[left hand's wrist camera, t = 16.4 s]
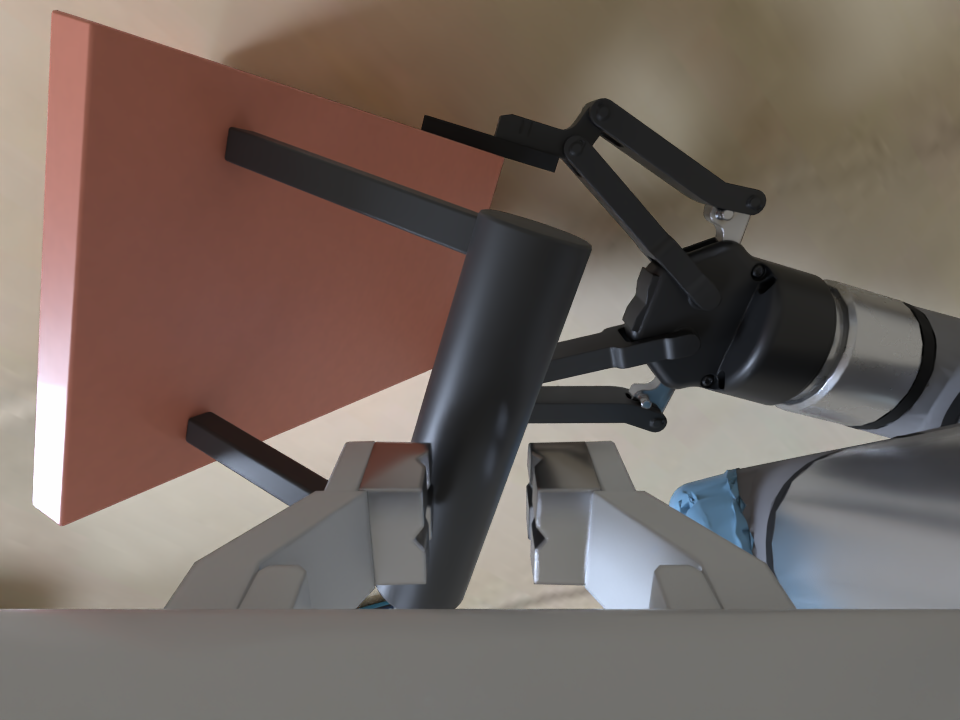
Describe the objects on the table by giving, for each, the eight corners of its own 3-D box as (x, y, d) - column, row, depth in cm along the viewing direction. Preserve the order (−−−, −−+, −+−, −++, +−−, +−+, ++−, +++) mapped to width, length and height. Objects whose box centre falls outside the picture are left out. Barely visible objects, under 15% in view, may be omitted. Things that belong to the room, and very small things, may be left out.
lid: (30, 505, 12) (359, 757, 10) (49, 7, 9) (553, 168, 6) (425, 356, 28) (595, 436, 25) (484, 151, 24) (687, 216, 22)
